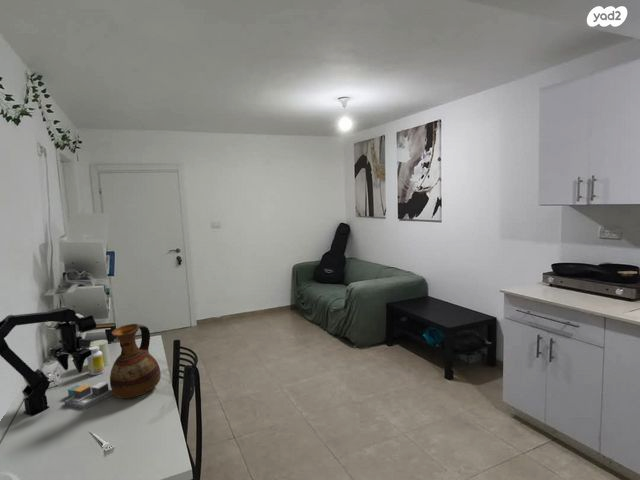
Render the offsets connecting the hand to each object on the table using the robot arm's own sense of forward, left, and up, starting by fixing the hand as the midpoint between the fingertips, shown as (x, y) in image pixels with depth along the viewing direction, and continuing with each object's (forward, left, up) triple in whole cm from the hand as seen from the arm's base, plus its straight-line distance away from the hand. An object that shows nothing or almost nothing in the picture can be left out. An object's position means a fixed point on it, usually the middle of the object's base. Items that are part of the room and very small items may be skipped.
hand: (73, 371), depth 166 cm
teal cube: (0, 0, -11) cm, 11 cm away
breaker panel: (-1, -9, -11) cm, 14 cm away
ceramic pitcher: (+11, -24, -11) cm, 28 cm away
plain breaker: (+3, -12, -9) cm, 16 cm away
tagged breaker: (-2, -7, -9) cm, 12 cm away
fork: (-20, -41, -12) cm, 47 cm away
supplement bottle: (+19, +12, -11) cm, 25 cm away
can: (+27, +20, -11) cm, 35 cm away
